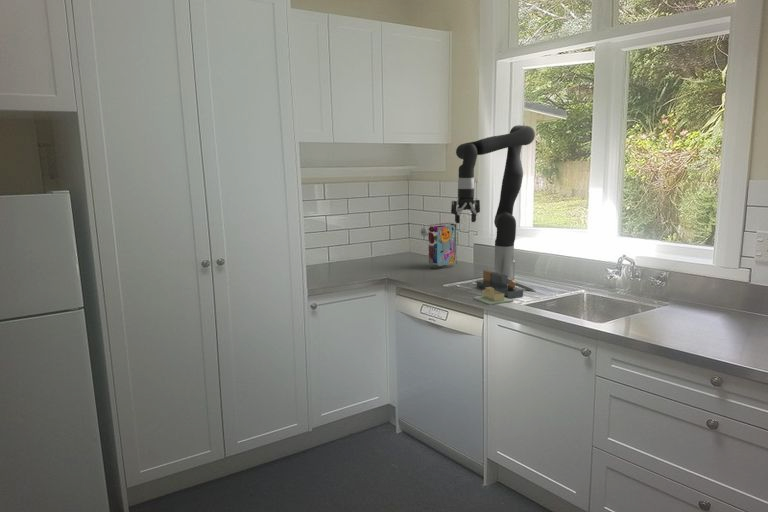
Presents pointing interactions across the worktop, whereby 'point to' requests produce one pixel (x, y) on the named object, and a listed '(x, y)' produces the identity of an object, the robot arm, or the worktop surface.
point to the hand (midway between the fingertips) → (465, 222)
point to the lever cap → (492, 294)
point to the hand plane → (499, 284)
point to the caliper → (523, 286)
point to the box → (441, 244)
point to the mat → (492, 301)
